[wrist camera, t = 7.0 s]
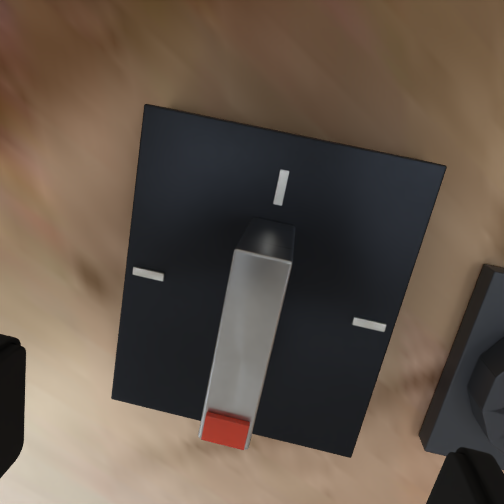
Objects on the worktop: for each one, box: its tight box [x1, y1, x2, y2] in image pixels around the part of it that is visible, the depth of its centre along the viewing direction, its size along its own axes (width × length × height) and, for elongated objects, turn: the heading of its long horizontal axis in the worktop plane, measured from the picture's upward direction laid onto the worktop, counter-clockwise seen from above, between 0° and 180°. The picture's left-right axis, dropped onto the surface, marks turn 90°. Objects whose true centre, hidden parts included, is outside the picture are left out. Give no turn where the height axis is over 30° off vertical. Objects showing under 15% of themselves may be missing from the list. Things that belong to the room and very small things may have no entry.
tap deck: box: [111, 104, 447, 458], centre depth 20 cm, size 14×12×3 cm
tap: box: [198, 217, 295, 450], centre depth 16 cm, size 7×2×5 cm, turn 169°
